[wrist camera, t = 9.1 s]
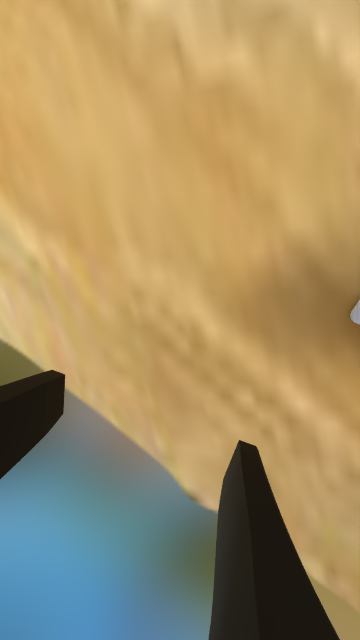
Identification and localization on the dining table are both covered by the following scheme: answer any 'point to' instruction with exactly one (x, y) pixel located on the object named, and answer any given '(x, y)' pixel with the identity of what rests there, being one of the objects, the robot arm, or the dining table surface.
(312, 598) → the robot arm
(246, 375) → the dining table surface
